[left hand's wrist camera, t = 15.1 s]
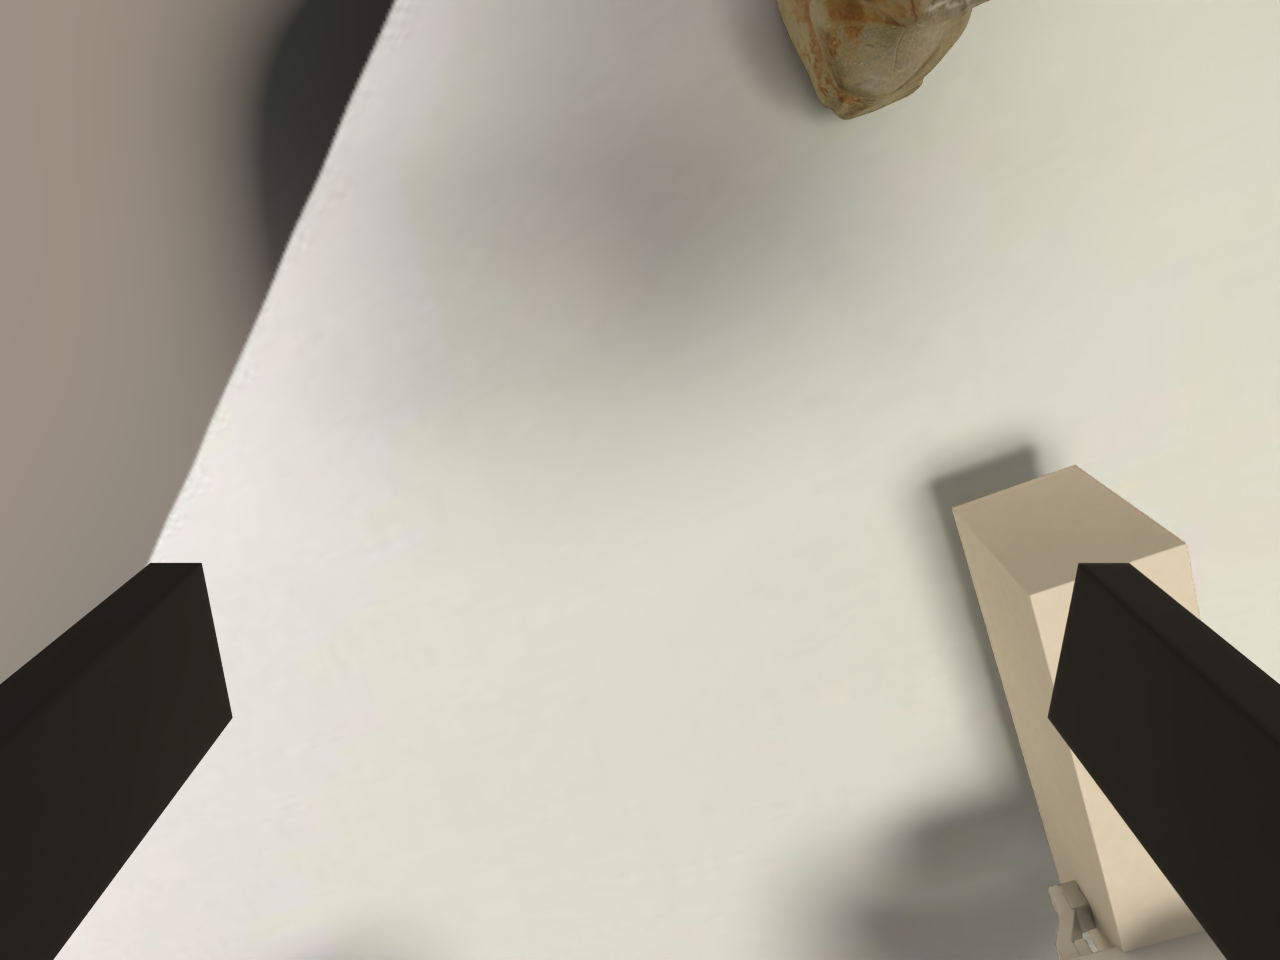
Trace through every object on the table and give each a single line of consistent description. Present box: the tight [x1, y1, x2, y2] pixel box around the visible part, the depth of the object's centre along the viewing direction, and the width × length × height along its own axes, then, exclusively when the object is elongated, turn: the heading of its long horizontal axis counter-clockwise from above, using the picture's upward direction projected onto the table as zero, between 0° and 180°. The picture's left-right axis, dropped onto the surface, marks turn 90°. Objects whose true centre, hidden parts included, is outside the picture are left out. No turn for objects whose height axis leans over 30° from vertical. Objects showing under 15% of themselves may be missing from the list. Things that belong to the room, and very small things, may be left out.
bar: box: [952, 465, 1204, 952], centre depth 40 cm, size 25×6×9 cm, turn 22°
